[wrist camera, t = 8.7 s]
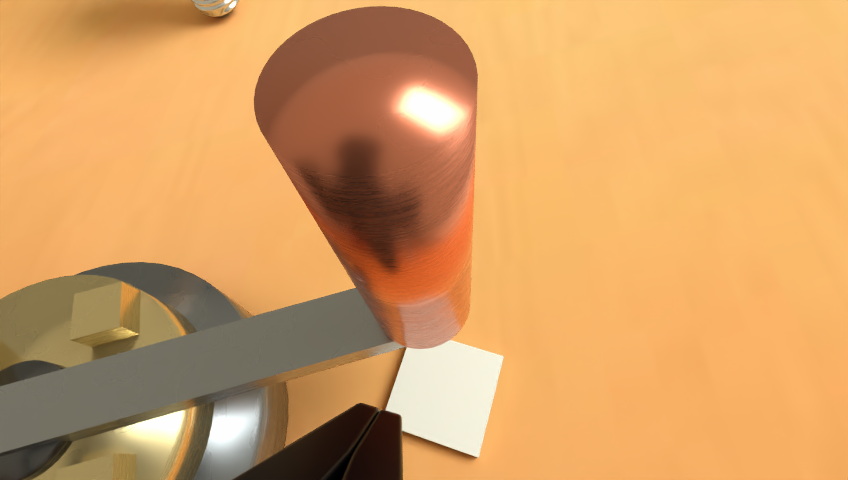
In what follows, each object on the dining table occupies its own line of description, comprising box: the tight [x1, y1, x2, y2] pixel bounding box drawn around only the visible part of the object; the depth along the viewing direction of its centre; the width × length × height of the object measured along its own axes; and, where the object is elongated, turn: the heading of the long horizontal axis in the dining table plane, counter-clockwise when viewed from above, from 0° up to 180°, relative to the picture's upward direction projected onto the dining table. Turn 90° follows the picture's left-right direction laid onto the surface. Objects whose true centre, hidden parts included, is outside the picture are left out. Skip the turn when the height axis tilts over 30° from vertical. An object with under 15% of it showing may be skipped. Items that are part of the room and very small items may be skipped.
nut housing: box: [76, 262, 288, 480], centre depth 18 cm, size 13×13×3 cm
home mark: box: [386, 340, 504, 458], centre depth 19 cm, size 4×4×1 cm
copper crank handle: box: [0, 6, 478, 480], centre depth 11 cm, size 20×10×12 cm, turn 105°
